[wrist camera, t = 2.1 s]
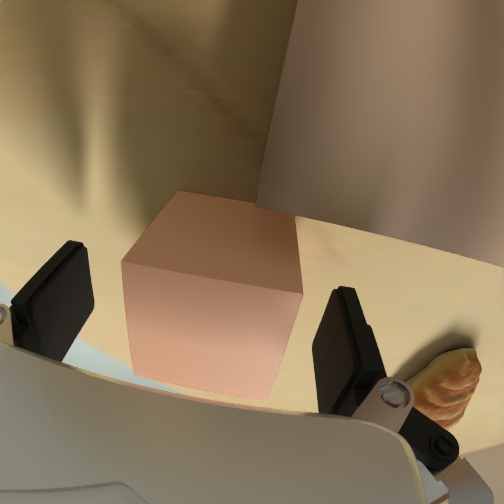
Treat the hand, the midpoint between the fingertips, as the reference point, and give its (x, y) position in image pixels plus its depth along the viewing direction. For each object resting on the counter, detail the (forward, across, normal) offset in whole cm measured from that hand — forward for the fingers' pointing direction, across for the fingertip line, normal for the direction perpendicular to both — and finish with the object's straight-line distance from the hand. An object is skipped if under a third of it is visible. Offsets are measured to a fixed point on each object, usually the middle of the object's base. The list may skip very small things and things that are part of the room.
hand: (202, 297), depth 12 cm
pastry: (+4, -16, +9) cm, 19 cm away
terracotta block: (+4, 0, 0) cm, 4 cm away
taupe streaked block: (+4, -8, -10) cm, 13 cm away
